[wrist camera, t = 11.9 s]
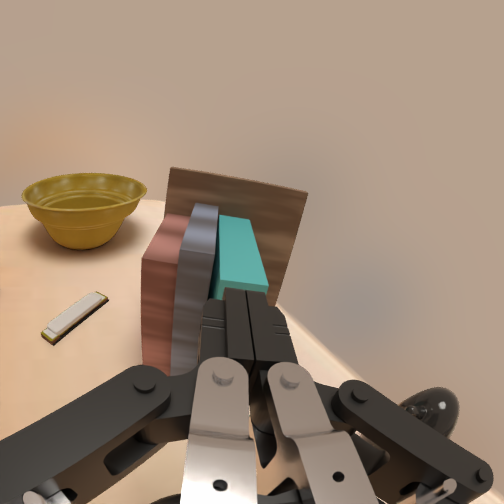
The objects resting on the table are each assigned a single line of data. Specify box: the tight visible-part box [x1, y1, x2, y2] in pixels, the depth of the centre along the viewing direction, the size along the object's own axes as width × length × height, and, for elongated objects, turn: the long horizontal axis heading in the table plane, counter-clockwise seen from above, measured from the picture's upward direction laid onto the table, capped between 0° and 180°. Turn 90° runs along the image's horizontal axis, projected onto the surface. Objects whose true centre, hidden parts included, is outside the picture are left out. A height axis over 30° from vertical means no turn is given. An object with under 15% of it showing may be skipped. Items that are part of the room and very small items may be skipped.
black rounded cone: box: [360, 387, 459, 451], centre depth 23 cm, size 10×10×15 cm
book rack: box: [141, 167, 308, 376], centre depth 35 cm, size 15×18×25 cm
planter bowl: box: [22, 173, 147, 250], centre depth 61 cm, size 32×32×13 cm
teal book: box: [207, 215, 269, 301], centre depth 34 cm, size 16×4×20 cm, turn 6°
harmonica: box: [41, 292, 109, 346], centre depth 39 cm, size 15×3×2 cm, turn 165°
